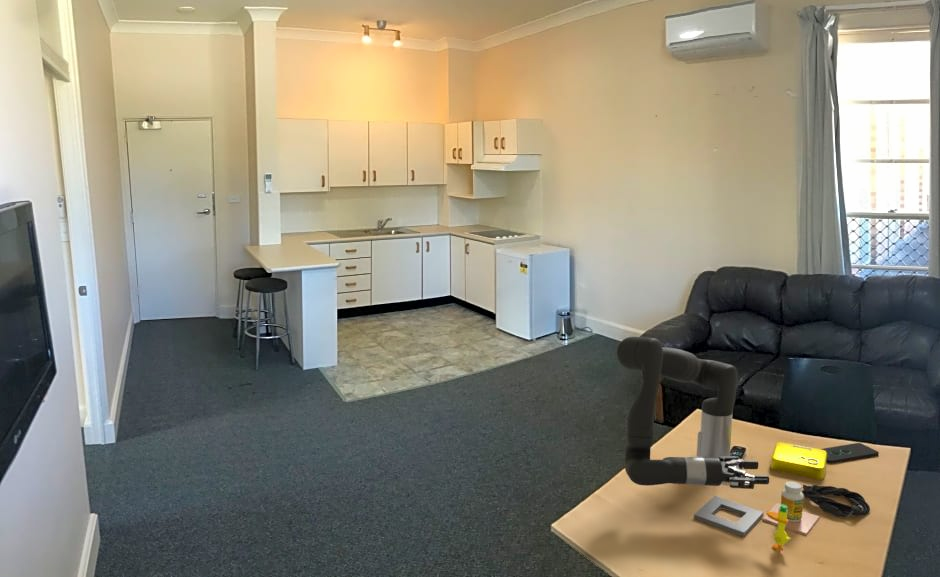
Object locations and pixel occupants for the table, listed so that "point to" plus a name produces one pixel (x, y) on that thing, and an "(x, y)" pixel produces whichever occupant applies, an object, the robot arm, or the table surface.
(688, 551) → the table surface
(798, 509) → the supplement bottle
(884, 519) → the table surface
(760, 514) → the socket block
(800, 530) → the terracotta tile
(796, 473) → the element tile
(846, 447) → the smart home device
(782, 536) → the toy figure
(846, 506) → the cable
